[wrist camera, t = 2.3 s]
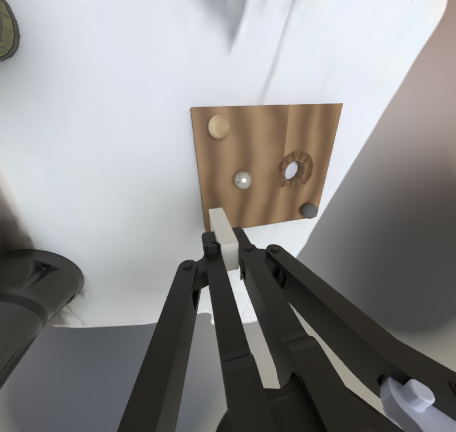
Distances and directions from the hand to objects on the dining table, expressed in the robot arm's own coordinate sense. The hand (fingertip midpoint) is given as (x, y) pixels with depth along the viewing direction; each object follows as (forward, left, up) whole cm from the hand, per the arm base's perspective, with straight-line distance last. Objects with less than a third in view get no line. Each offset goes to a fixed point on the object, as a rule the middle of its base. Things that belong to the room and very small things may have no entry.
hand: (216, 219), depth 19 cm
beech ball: (+3, +9, -14) cm, 17 cm away
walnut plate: (+13, 0, -18) cm, 22 cm away
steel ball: (+7, 0, -14) cm, 16 cm away
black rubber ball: (+23, -9, -14) cm, 29 cm away
